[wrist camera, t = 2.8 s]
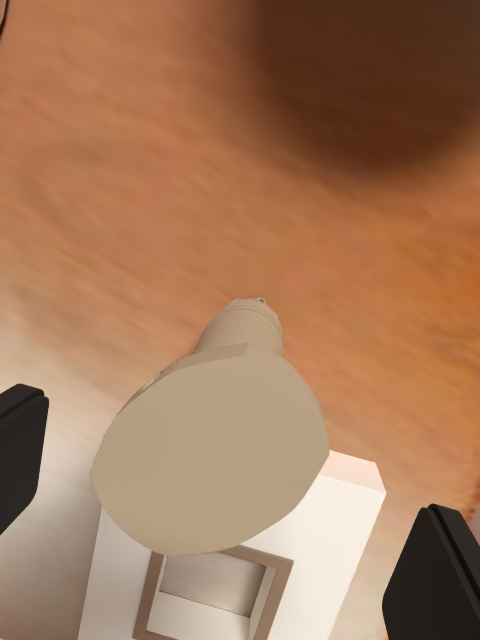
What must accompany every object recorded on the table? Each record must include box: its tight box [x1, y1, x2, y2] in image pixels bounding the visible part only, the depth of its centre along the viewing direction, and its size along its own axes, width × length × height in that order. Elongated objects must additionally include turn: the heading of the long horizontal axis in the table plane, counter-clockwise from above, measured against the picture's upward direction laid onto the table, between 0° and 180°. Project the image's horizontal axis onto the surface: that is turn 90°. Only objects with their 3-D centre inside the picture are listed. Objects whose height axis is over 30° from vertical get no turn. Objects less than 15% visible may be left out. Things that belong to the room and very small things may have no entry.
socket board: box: [78, 450, 386, 640], centre depth 28 cm, size 22×16×3 cm
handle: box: [90, 296, 329, 557], centre depth 18 cm, size 5×6×15 cm
